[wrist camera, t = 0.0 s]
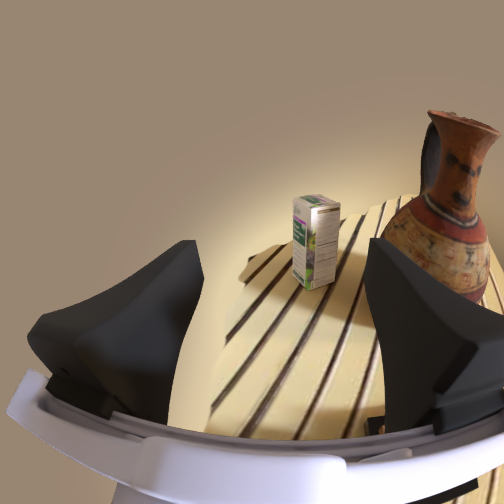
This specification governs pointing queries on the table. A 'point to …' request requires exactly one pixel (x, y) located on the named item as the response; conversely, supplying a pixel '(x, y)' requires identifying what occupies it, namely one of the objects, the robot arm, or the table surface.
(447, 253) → the ceramic pitcher
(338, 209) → the syrup box
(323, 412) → the table surface
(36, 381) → the robot arm
